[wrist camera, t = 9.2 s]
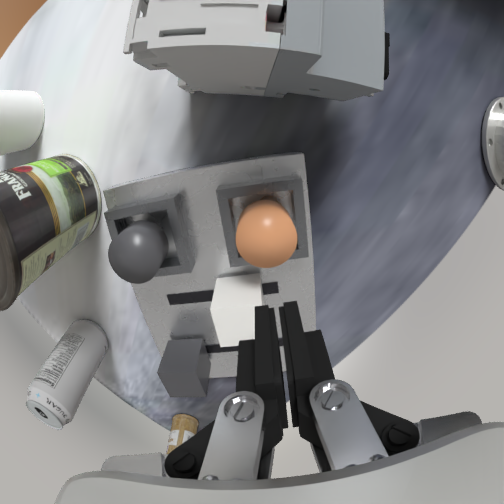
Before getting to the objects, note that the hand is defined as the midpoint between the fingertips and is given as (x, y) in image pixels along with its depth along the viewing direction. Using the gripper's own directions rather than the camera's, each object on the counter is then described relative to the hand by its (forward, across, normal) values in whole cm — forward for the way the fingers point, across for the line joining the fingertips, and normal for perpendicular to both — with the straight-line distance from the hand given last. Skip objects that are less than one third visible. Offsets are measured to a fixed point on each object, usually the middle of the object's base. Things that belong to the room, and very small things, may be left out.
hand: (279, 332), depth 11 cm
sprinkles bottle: (+17, +18, +32) cm, 41 cm away
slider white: (+14, +3, +7) cm, 16 cm away
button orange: (+12, 0, 0) cm, 12 cm away
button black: (+12, +10, -1) cm, 16 cm away
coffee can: (+17, +21, -6) cm, 28 cm away
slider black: (+14, +10, +13) cm, 22 cm away
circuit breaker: (+17, -3, -14) cm, 23 cm away
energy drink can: (+17, +25, +12) cm, 33 cm away
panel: (+17, +5, +7) cm, 19 cm away
